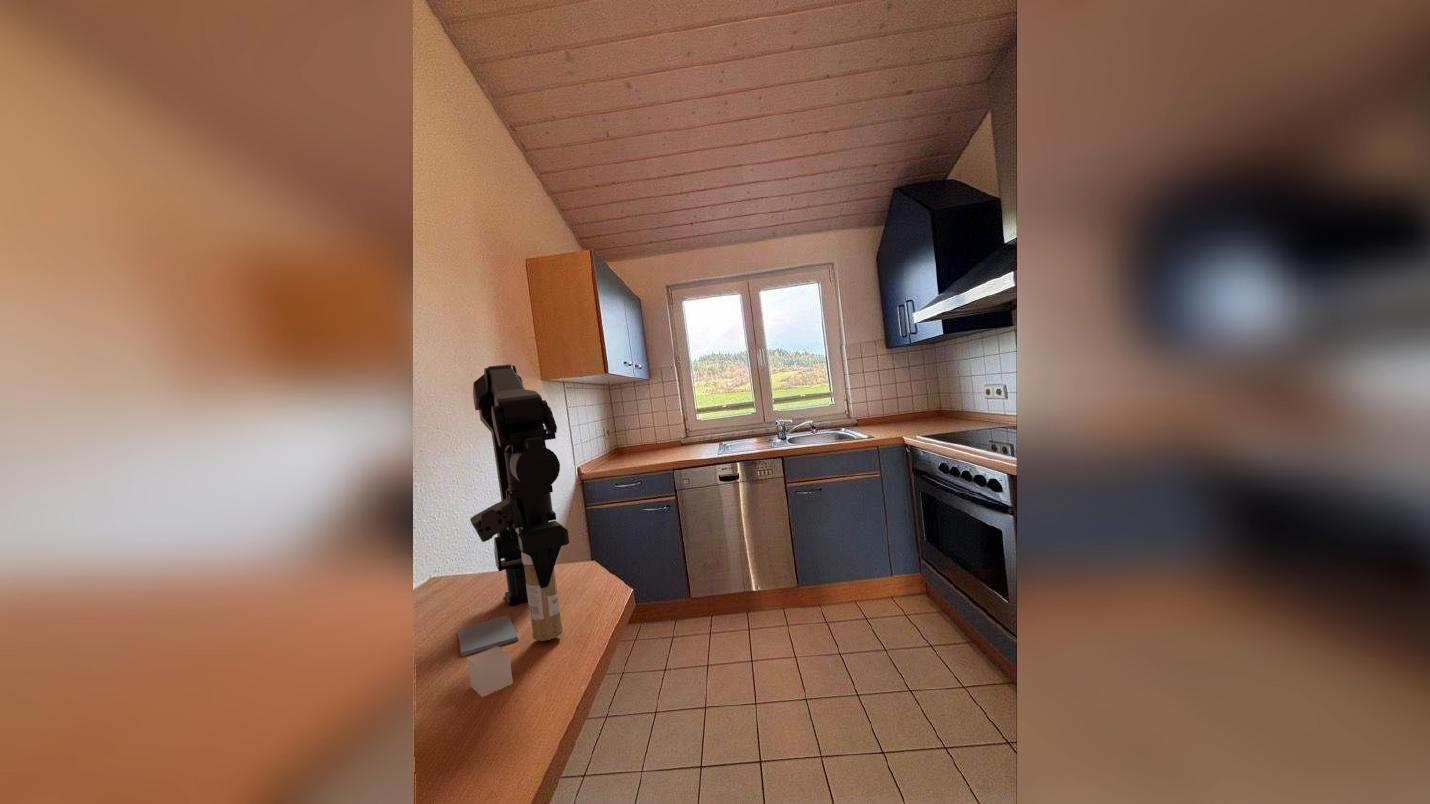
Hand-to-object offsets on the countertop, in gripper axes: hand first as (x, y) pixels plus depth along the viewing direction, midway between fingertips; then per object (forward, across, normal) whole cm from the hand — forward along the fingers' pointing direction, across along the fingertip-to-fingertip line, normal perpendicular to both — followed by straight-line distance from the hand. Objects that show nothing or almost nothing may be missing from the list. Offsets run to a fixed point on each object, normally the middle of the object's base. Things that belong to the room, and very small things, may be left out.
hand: (541, 582), depth 91 cm
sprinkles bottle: (+8, 0, 0) cm, 8 cm away
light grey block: (+9, +9, -9) cm, 16 cm away
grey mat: (+9, -8, -8) cm, 14 cm away
